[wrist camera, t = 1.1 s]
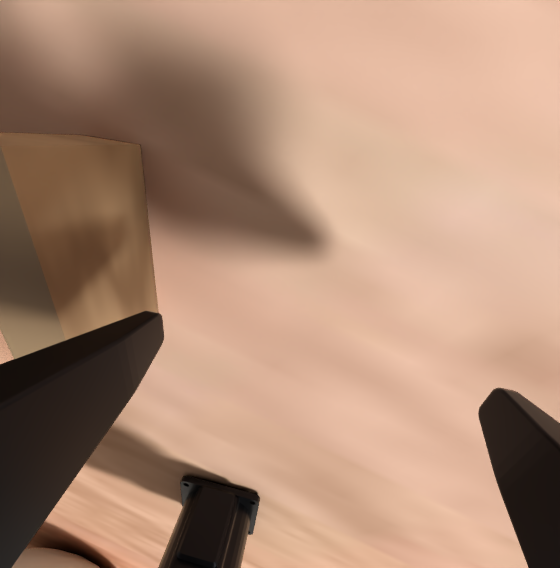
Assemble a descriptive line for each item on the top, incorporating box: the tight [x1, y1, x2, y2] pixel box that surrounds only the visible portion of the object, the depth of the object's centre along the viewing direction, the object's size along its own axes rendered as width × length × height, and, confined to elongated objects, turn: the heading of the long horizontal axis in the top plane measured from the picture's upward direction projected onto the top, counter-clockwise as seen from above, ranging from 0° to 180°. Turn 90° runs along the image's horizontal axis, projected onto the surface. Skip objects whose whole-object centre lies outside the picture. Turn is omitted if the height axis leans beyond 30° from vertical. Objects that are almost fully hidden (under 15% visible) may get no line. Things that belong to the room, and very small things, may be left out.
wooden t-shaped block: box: [0, 132, 158, 359], centre depth 10 cm, size 8×8×5 cm
